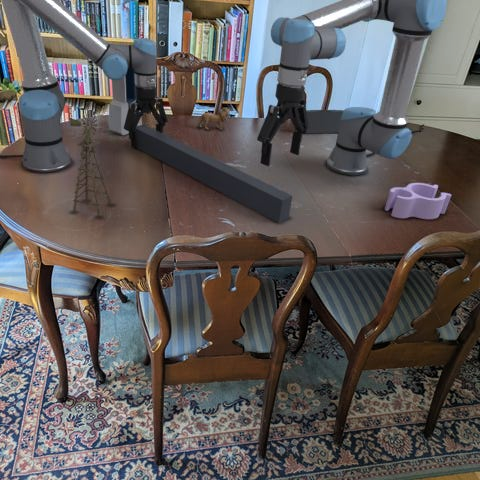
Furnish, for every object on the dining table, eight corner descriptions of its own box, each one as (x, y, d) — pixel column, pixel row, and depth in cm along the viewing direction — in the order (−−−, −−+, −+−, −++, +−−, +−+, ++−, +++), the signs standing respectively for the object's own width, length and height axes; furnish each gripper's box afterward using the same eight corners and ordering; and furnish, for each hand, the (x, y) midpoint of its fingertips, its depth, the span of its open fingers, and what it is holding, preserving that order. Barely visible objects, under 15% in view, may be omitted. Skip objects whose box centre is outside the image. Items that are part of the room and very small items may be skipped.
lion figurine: (226, 125, 208) (227, 105, 203) (230, 130, 204) (231, 109, 199) (194, 126, 203) (195, 106, 198) (197, 131, 199) (198, 110, 194)
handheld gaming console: (340, 130, 217) (344, 109, 212) (343, 132, 215) (347, 111, 209) (295, 131, 210) (299, 109, 204) (298, 134, 208) (301, 111, 202)
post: (133, 146, 179) (133, 127, 175) (144, 143, 183) (143, 124, 178) (278, 223, 141) (282, 200, 136) (288, 217, 144) (292, 195, 140)
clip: (399, 222, 147) (405, 203, 144) (377, 203, 157) (382, 185, 153) (449, 217, 154) (457, 198, 150) (426, 199, 163) (432, 181, 160)
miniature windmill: (98, 218, 133) (90, 115, 117) (71, 213, 134) (59, 110, 118) (112, 203, 141) (106, 105, 124) (86, 199, 142) (76, 100, 125)
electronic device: (121, 136, 186) (117, 57, 170) (107, 131, 189) (102, 53, 173) (142, 128, 196) (141, 53, 179) (129, 124, 199) (126, 49, 182)
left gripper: (124, 93, 156) (126, 154, 168) (177, 84, 171) (176, 141, 183) (111, 87, 160) (114, 147, 172) (164, 79, 175) (164, 135, 187)
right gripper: (271, 94, 113) (261, 174, 125) (329, 81, 129) (315, 153, 141) (249, 86, 117) (241, 164, 129) (307, 75, 133) (295, 145, 145)
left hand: (146, 144), depth 178 cm, fingers open, 11 cm apart
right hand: (280, 159), depth 135 cm, fingers open, 13 cm apart
